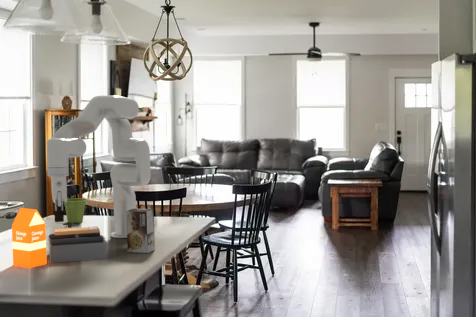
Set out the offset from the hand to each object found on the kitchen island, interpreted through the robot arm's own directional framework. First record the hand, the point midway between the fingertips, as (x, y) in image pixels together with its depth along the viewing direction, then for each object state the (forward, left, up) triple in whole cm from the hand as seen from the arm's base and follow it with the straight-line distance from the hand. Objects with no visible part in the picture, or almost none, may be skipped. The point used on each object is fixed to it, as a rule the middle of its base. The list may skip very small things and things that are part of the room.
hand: (59, 221), depth 243 cm
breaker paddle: (-6, 0, -5) cm, 8 cm away
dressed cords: (-6, 0, -8) cm, 10 cm away
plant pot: (-11, -83, -14) cm, 85 cm away
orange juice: (+11, +8, -14) cm, 19 cm away
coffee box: (-30, -1, -14) cm, 33 cm away
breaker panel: (-6, 0, -14) cm, 15 cm away
